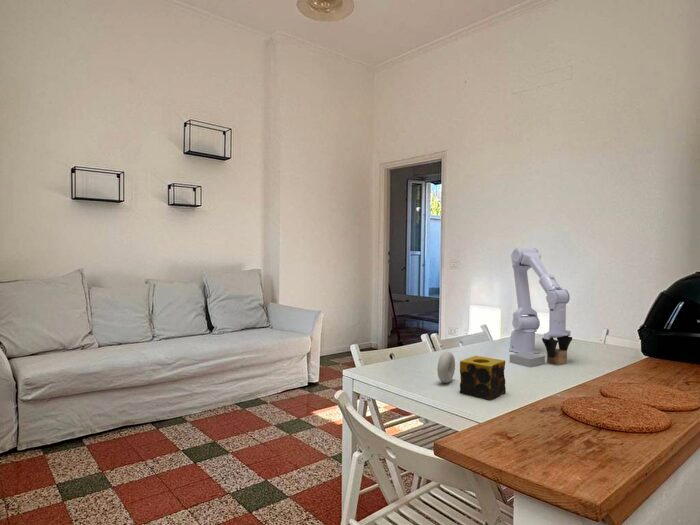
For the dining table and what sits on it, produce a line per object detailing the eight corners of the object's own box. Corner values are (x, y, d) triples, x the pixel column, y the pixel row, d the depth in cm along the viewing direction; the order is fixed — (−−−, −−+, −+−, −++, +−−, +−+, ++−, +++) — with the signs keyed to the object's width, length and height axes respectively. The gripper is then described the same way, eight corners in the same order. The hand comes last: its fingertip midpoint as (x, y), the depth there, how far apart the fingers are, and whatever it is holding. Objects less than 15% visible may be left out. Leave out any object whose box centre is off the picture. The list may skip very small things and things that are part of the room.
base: (509, 362, 176) (509, 354, 175) (524, 359, 181) (524, 351, 180) (530, 367, 168) (530, 359, 168) (544, 364, 173) (544, 356, 173)
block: (546, 362, 176) (547, 349, 175) (554, 361, 178) (554, 348, 178) (559, 365, 171) (559, 352, 171) (566, 363, 174) (566, 350, 174)
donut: (445, 387, 143) (446, 355, 142) (435, 385, 144) (435, 354, 144) (456, 379, 151) (456, 349, 151) (446, 378, 153) (446, 348, 153)
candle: (506, 393, 137) (506, 360, 137) (491, 401, 129) (491, 366, 129) (475, 386, 144) (475, 354, 144) (458, 393, 136) (459, 360, 136)
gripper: (556, 323, 167) (555, 360, 167) (578, 320, 175) (577, 355, 175) (538, 321, 173) (538, 356, 173) (561, 318, 181) (560, 352, 181)
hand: (557, 356), depth 175 cm, fingers open, 7 cm apart
